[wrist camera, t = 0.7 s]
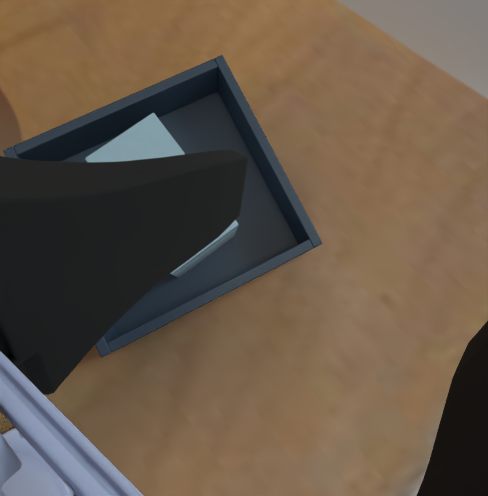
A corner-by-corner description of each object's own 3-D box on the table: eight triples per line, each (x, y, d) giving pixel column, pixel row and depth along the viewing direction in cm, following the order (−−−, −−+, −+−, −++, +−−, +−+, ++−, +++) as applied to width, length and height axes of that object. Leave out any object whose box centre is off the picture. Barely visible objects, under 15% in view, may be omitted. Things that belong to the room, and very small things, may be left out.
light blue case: (178, 278, 26) (171, 274, 21) (106, 181, 26) (84, 158, 22) (235, 236, 26) (238, 224, 22) (163, 141, 27) (153, 111, 22)
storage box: (117, 349, 25) (101, 357, 22) (31, 169, 26) (2, 150, 23) (308, 250, 27) (322, 243, 24) (221, 84, 28) (222, 54, 24)
